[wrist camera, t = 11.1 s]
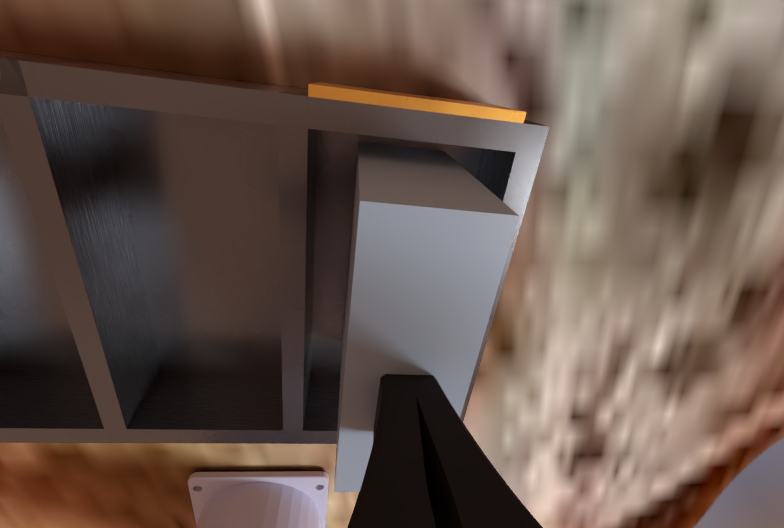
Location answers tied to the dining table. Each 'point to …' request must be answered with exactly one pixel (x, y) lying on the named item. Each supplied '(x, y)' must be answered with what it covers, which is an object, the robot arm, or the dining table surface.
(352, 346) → the panel
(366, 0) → the dining table surface
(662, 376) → the dining table surface
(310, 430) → the rack
